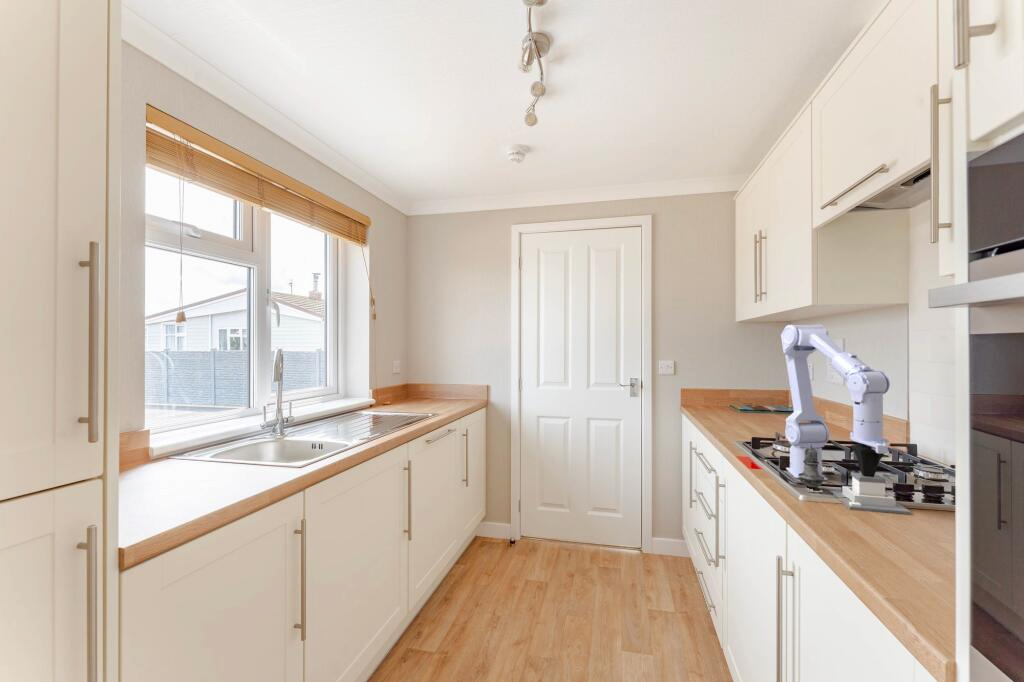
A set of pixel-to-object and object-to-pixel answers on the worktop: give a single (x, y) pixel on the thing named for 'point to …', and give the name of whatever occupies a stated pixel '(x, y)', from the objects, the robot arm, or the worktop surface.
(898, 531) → the worktop surface
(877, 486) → the plug
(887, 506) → the socket plate
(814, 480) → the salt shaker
